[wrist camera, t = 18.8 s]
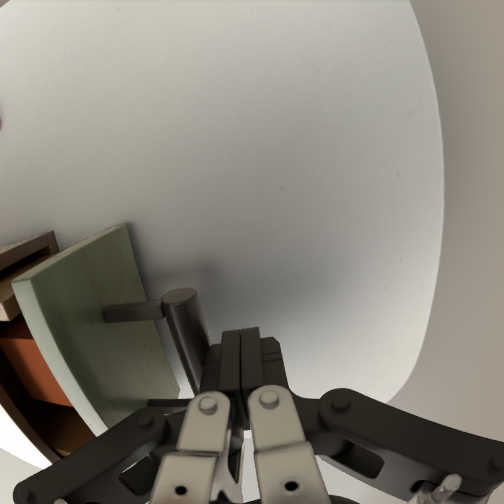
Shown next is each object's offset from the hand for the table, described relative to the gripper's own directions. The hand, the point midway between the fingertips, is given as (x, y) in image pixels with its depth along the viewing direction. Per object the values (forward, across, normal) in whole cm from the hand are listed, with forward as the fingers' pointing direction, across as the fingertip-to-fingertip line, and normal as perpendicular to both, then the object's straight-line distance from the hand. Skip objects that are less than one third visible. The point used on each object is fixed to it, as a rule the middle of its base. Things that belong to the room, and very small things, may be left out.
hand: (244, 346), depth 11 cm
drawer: (+4, +10, 0) cm, 11 cm away
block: (+3, +11, 0) cm, 12 cm away
